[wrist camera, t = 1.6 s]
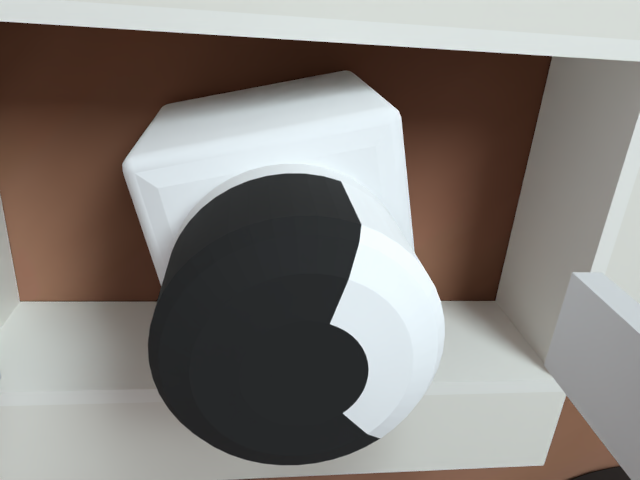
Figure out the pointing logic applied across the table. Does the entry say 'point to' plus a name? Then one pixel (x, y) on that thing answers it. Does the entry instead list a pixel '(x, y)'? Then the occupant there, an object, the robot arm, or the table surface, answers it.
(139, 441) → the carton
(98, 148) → the table surface
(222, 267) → the container
